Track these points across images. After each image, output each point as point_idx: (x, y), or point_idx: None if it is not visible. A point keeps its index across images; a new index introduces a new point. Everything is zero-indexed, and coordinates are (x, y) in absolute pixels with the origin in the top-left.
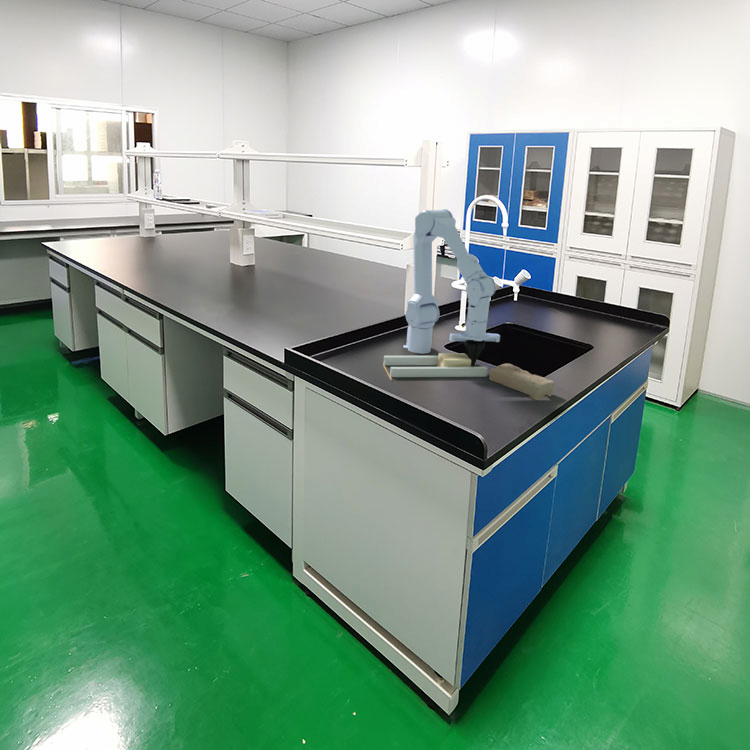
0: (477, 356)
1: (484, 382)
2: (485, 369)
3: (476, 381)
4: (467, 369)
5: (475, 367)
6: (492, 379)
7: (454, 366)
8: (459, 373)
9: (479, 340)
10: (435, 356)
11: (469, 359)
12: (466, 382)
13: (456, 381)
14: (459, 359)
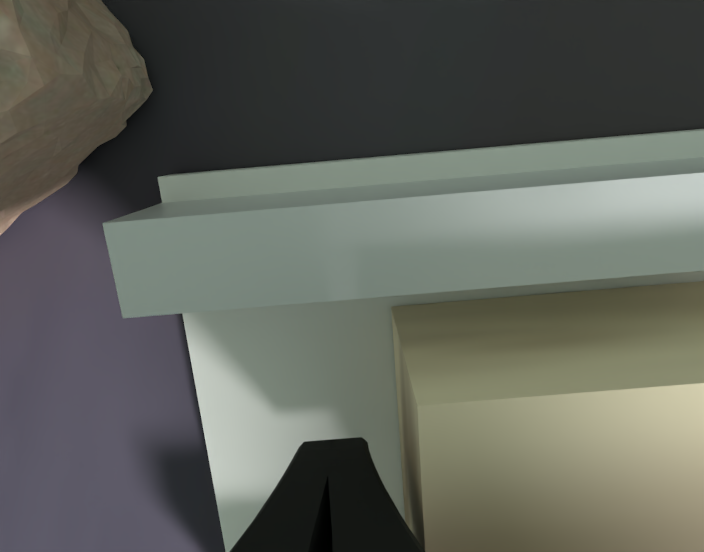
0: (248, 545)
1: (228, 74)
2: (158, 218)
3: (336, 107)
4: (504, 189)
5: (339, 257)
6: (96, 17)
7: (689, 324)
8: (610, 172)
9: None
10: None
11: (446, 439)
12: (492, 57)
13: (623, 89)
14: (671, 424)
